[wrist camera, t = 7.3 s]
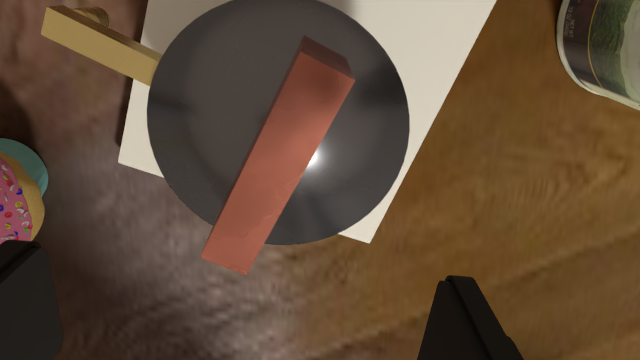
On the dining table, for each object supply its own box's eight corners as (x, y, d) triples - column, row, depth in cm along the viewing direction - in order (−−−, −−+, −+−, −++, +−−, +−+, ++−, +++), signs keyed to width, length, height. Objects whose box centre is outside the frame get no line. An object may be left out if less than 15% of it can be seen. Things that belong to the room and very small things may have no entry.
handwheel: (436, 63, 22) (504, 109, 14) (329, 233, 26) (335, 339, 19) (124, -117, 18) (-19, -189, 10) (62, 115, 23) (-69, 186, 15)
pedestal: (367, 234, 31) (378, 290, 25) (125, 155, 28) (78, 198, 22) (528, -79, 22) (599, -99, 17) (202, -241, 19) (157, -331, 14)
